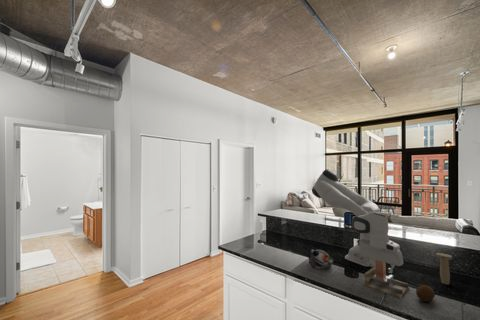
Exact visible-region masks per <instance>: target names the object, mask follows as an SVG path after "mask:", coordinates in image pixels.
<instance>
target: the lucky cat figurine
mask: <svg viewBox="0 0 480 320" xmlns="http://www.w3.org/2000/svg"><path fill="white" fill-rule="evenodd" d="M333 263H334V259H333V258H332V257H330V255H329V254H328V252H326V251H325V250H322V249H315V250H314V249H313V248H311V249H310V253H309V256H308V264H310V265H311V267H312V268H314V269H317V270H320V269H321V270H322V269H325V268H332V265H333Z"/></svg>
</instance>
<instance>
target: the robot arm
mask: <svg viewBox="0 0 480 320" xmlns="http://www.w3.org/2000/svg"><path fill="white" fill-rule="evenodd" d="M339 180H340V179H339V176H338V174H337V172H335V171H334V170H332V169H329V168H328V169H327V168H326V169H324V170H323V171H322V173H321V174H320V175H319V177H318V178H317V179H316V181H315V183H314V185H313V186H312V188H311V193H312V194H313V195H314V197H316V198H318V199H322V200H323V201H324V202H325V203H326V204H327V205H329V206H330V207H332V208H339V209H344V210H347V211H349V212H351V213H352V214H354V215H355V217H353V218H352V219H351V227H352V228H353V231H355V232H356V233H357V234H359V238H358V239H357V240H356V243H357V244H356V245H354V246H352V247H351V248H349V250H348V254H345V256H344V259H345V260H347V261H349V262H353V263H355V264H358V265H360V266H363V267H370V268H373V267H376V262H375V260H378V261H382V262H385V263H386V264H389V265H390V267H388V268H387V272H388V273H391V274H393V269H394V268H395V266H397V267H401V266H403V264H404V258H403V253H402V251H401V250H400V249H401V245H400V244H398V243H396V242H394V241H393V240H390V237H389V221H388V216H387V215H386V214H385V213H384V212H381V211H380V209H379V206H378V205H377V204H376V203H374V202H373V201H371V200H369V199H368V198H366V197H365V196H363V195H361V194H359V193H357V192H356V191H354V189H351V187H348V186H347V185H345V184H344V183H342V182H340V181H339Z"/></svg>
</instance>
